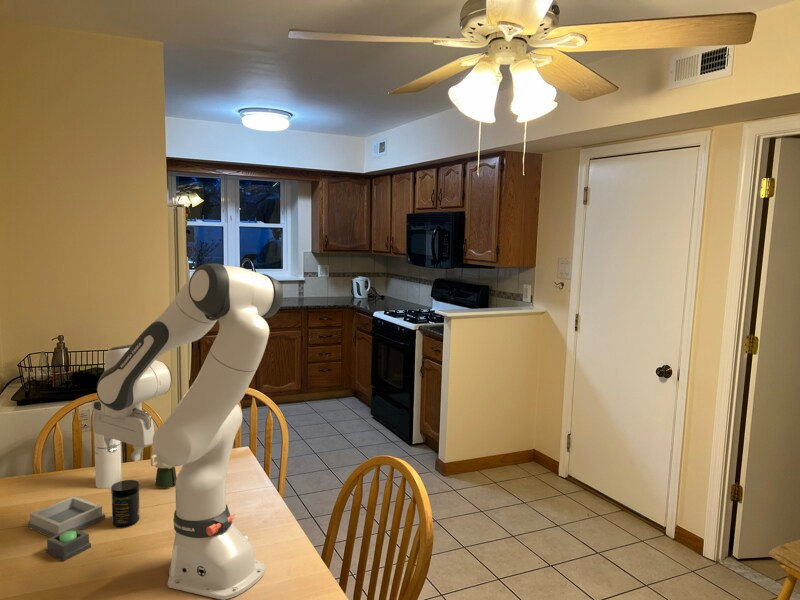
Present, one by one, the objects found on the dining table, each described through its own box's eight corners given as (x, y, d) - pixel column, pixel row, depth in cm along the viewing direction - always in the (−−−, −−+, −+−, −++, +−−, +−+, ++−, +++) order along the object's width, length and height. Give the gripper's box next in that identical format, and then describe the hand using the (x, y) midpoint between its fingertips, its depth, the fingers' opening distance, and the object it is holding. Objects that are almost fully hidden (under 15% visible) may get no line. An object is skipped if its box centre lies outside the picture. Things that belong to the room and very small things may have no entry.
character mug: (159, 494, 170) (159, 452, 168) (143, 489, 173) (142, 448, 172) (188, 481, 180) (188, 441, 178) (172, 476, 183) (172, 437, 181)
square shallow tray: (105, 518, 155) (104, 506, 155) (58, 540, 144) (57, 527, 143) (75, 506, 161) (74, 494, 161) (27, 526, 150) (26, 514, 149)
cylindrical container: (110, 489, 172) (108, 409, 169) (90, 486, 174) (87, 407, 171) (126, 479, 179) (124, 402, 176) (106, 477, 181) (104, 400, 178)
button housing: (91, 547, 141) (90, 534, 141) (63, 561, 135) (62, 547, 134) (73, 539, 144) (72, 526, 144) (45, 553, 138) (44, 539, 138)
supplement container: (140, 525, 152) (140, 487, 151) (112, 530, 149) (111, 492, 148) (139, 514, 158) (138, 478, 157) (111, 519, 155) (110, 482, 154)
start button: (80, 542, 140) (79, 533, 140) (65, 549, 137) (65, 539, 137) (70, 538, 142) (70, 529, 141) (56, 545, 139) (56, 535, 138)
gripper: (160, 409, 148) (160, 460, 150) (109, 395, 157) (109, 444, 159) (140, 416, 143) (140, 468, 144) (87, 401, 152) (88, 451, 153)
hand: (123, 455), depth 152 cm, fingers open, 8 cm apart
